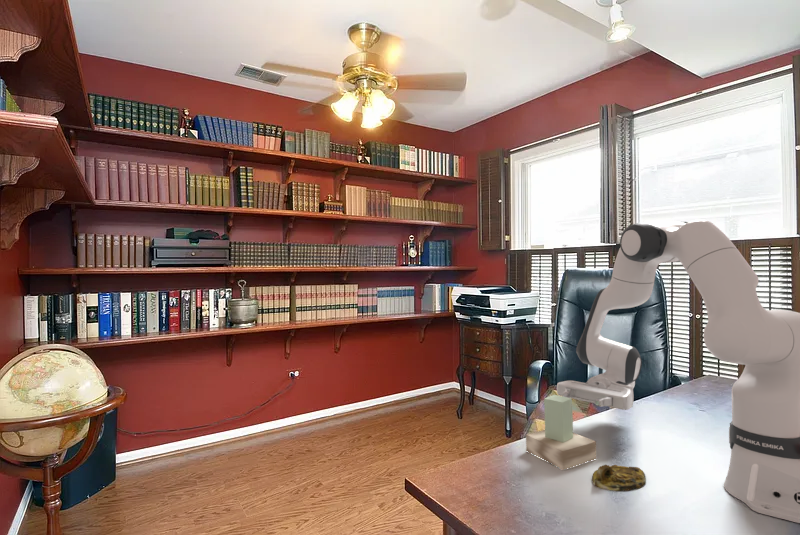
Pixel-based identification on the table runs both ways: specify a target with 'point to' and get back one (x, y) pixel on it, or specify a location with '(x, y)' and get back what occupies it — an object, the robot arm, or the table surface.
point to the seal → (618, 478)
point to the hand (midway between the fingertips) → (580, 399)
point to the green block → (558, 418)
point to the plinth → (561, 449)
